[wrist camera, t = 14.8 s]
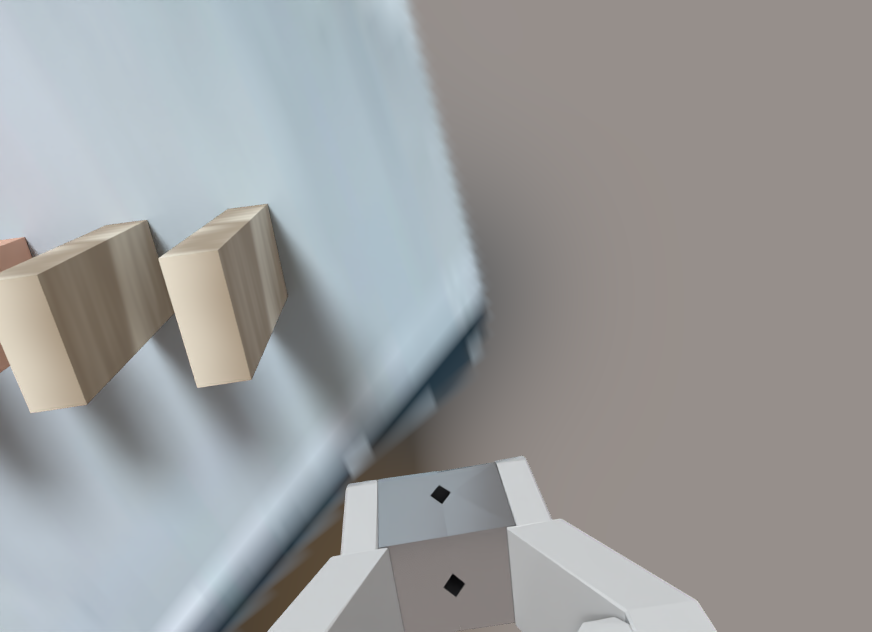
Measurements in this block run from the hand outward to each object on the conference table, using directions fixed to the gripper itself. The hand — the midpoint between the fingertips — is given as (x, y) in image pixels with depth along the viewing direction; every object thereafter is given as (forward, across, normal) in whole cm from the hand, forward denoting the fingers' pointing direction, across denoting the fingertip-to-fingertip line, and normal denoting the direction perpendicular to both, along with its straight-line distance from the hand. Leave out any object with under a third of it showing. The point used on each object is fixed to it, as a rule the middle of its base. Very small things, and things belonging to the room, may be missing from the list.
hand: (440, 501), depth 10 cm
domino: (+22, +13, 0) cm, 25 cm away
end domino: (+22, +7, 0) cm, 23 cm away
